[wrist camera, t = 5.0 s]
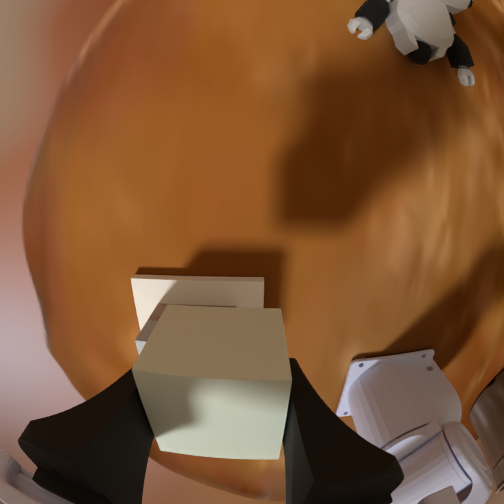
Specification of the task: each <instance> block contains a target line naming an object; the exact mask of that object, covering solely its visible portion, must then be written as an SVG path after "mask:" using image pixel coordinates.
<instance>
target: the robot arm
mask: <svg viewBox="0 0 504 504" xmlns="http://www.w3.org/2000/svg"><path fill="white" fill-rule="evenodd" d="M434 354H435V351H434V350H433V349H428V350H423V351H417V352H410V353H404V354H397V355H390V356H382V357H374V358H364V359H356V360H353V361H352V362H351V363H350V366H349V370H348V374H347V378H346V381H345V385H344V388H343V392H342V395H341V398H340V402H339V405H338V408H337V411H336V414H337V416H348V415H352V417H353V420H354V424H355V427H356V430H357V433H358V434H357V433H356V432H355V431H353V430H352V429H351V428H350V427H348V426H347V425H346V424H345V423H344V422H343V421H342V420H341V419H339V418H338V417H337V416H336V415H335V414H334V413H333V411H332V410H331V409H330V408H329V407H328V406H327V405H326V404H325V402H324V401H323V400H322V399H321V398H320V396H319V395H318V394H317V392H316V391H315V390H314V388H313V387H312V385H311V384H310V382H309V381H308V379H307V378H306V376H305V375H304V373H303V371H302V370H301V368H300V366H299V364H298V362H297V360H296V359H295V358H289V363H290V369H291V376H292V384H291V391H290V397H289V404H288V410H287V416H286V422H285V428H284V433H283V439H282V441H283V447H284V455H285V473H286V504H485V503H486V501H487V499H488V498H489V496H490V494H491V492H492V489H493V484H492V483H493V475H492V472H491V471H490V469H489V467H488V465H487V463H486V460H485V457H484V455H483V453H482V451H481V450H480V448H479V446H478V445H477V443H476V441H475V440H474V438H473V437H472V435H471V434H470V432H469V431H468V430H467V429H466V427H465V426H464V425H463V424H462V423H460V421H461V415H462V409H461V402H460V399H459V396H458V394H457V392H456V391H455V389H454V388H453V386H452V385H451V383H450V382H449V381H448V379H447V378H446V376H445V375H444V374H443V372H442V371H441V369H440V368H439V367H438V365H437V364H436V363H435V361H434V360H433V356H434ZM361 363H362V364H361ZM359 364H360V365H359ZM132 368H133V367H132ZM132 368H131V369H130V370H129V371H128V372H126V373H125V374H124V375H123V376H122V377H121V378H119V379H118V380H117V381H116V382H114V383H113V384H112V385H110V386H109V387H108V388H106V389H105V390H104V391H102V392H100V393H99V394H97V395H96V396H94V397H92V398H91V399H89V400H87V401H85V402H83V403H82V404H79V405H77V406H75V407H73V408H71V409H69V410H66V411H64V412H61V413H58V414H55V415H52V416H49V417H45V418H41V419H37V420H32V421H30V423H29V424H28V426H27V427H26V429H25V430H24V432H23V433H22V435H21V436H20V438H19V439H18V443H19V445H20V447H21V449H22V450H23V451H24V453H25V454H26V455H27V456H28V457H29V458H30V459H31V460H32V461H33V462H34V464H35V465H36V466H37V467H38V468H37V470H36V472H35V474H33V473H31V472H29V471H27V470H26V469H24V468H22V467H21V466H20V464H19V463H18V462H17V461H16V460H15V459H14V458H13V457H12V456H10V455H9V454H7V453H6V452H4V451H3V450H1V449H0V500H1V501H2V502H3V503H5V504H142V494H143V486H144V479H145V473H146V467H147V462H148V457H149V452H150V448H151V444H152V441H153V438H154V433H153V430H152V428H151V425H150V423H149V420H148V417H147V415H146V412H145V409H144V406H143V403H142V400H141V397H140V394H139V391H138V388H137V385H136V382H135V379H134V376H133V372H132Z"/></svg>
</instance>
